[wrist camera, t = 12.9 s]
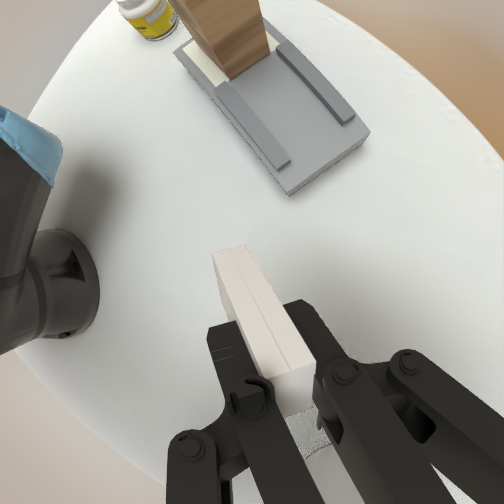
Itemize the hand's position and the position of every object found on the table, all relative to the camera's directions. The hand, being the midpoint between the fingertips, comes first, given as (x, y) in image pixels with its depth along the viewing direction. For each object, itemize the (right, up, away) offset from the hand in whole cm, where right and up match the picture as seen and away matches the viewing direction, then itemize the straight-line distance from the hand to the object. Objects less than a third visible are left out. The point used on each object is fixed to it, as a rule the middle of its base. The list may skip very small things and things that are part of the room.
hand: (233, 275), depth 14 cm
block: (-1, +22, +14) cm, 26 cm away
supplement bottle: (-11, +31, +20) cm, 39 cm away
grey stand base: (+3, +18, +19) cm, 26 cm away
